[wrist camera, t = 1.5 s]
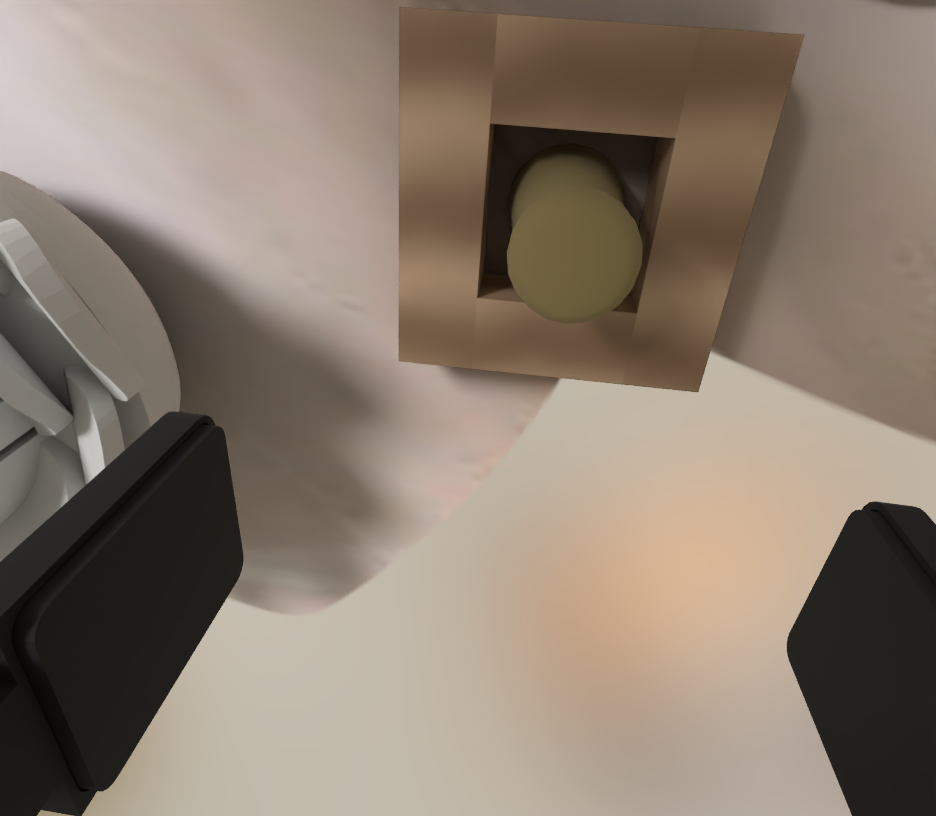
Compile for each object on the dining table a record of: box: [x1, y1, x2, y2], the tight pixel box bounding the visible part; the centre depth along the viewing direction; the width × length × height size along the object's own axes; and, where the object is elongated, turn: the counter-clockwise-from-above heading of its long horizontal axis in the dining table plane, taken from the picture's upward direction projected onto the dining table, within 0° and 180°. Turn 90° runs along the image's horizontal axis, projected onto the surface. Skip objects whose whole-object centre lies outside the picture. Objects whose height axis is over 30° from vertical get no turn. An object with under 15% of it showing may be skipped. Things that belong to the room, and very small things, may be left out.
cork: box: [507, 144, 643, 324], centre depth 27 cm, size 6×6×11 cm
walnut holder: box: [399, 7, 804, 392], centre depth 30 cm, size 16×16×4 cm
